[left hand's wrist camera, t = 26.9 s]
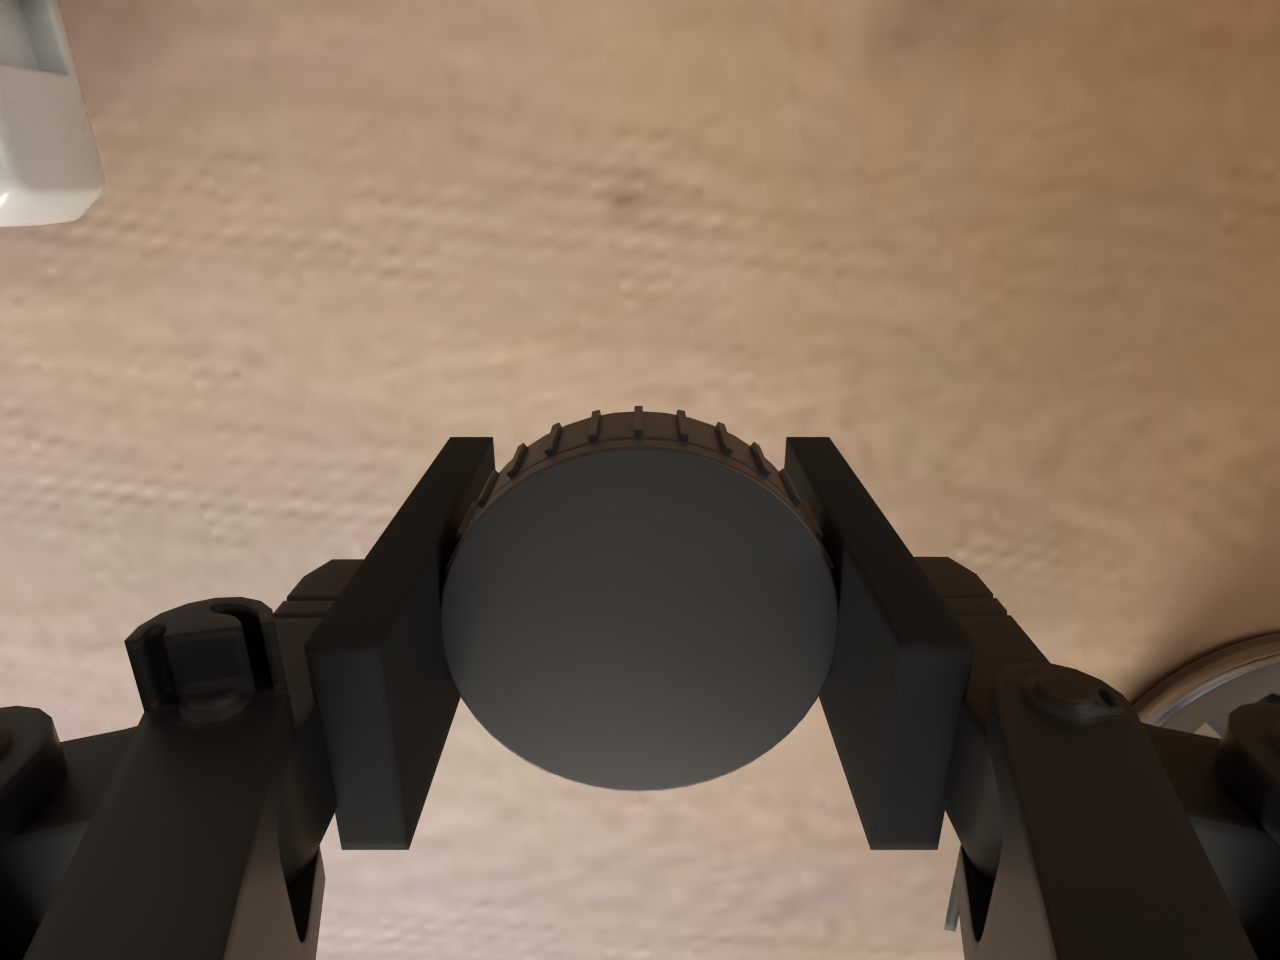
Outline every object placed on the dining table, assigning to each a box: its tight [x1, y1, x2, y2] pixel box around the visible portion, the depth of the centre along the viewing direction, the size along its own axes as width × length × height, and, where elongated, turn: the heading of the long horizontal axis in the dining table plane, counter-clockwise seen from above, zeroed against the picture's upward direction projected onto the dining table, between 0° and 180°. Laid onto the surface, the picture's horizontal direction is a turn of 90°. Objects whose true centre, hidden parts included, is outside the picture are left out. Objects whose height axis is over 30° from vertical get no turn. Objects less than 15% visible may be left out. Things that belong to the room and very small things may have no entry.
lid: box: [440, 406, 839, 792], centre depth 11 cm, size 5×5×2 cm
